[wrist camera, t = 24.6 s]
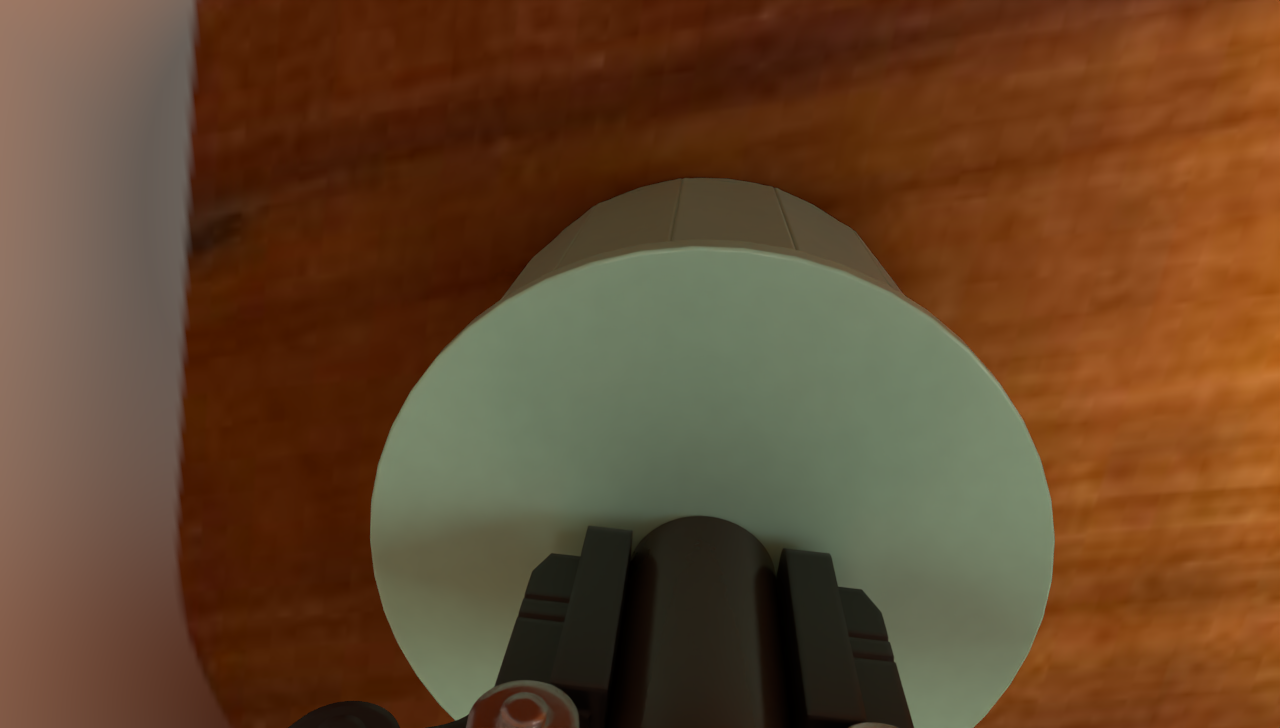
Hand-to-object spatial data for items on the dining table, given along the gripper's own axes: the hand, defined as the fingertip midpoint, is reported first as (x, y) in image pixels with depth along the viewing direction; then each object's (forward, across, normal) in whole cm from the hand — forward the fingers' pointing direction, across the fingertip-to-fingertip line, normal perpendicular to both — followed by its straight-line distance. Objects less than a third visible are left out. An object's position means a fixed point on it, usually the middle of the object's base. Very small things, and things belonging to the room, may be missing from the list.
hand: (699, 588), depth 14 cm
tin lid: (+1, 0, 0) cm, 1 cm away
